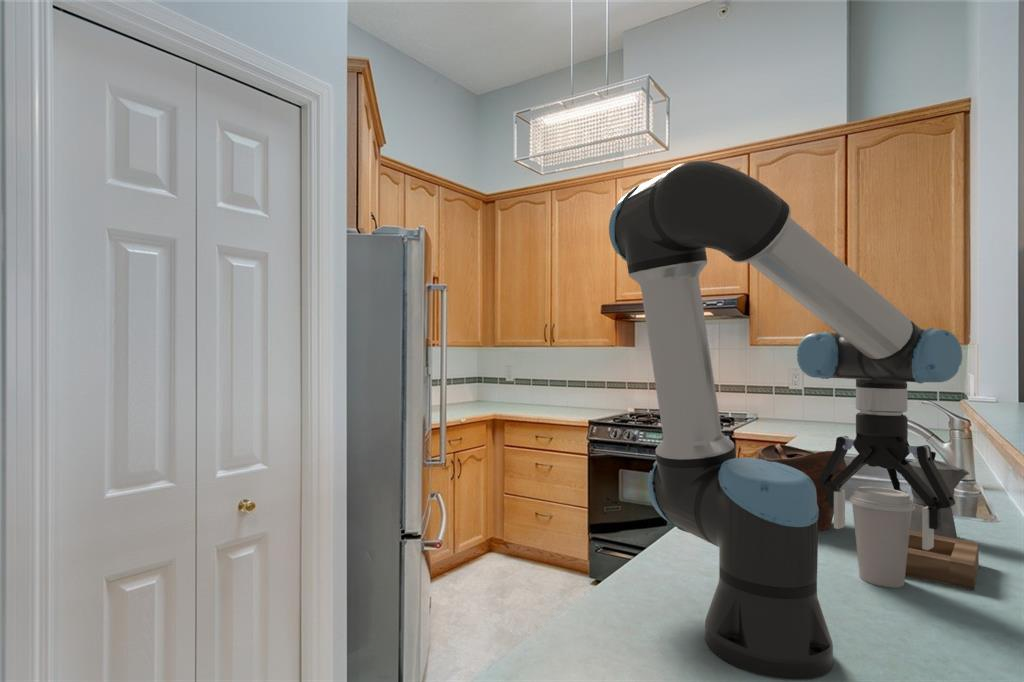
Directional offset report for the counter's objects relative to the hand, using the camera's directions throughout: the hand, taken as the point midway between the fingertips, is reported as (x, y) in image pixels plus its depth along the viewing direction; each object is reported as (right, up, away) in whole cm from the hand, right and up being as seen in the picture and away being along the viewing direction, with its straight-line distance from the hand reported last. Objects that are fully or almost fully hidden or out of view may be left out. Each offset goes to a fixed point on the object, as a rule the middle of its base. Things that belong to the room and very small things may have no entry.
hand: (881, 537), depth 99 cm
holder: (+12, -8, +7) cm, 16 cm away
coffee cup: (0, -7, 0) cm, 7 cm away
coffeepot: (+27, -9, +26) cm, 39 cm away
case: (+3, -8, +34) cm, 35 cm away
